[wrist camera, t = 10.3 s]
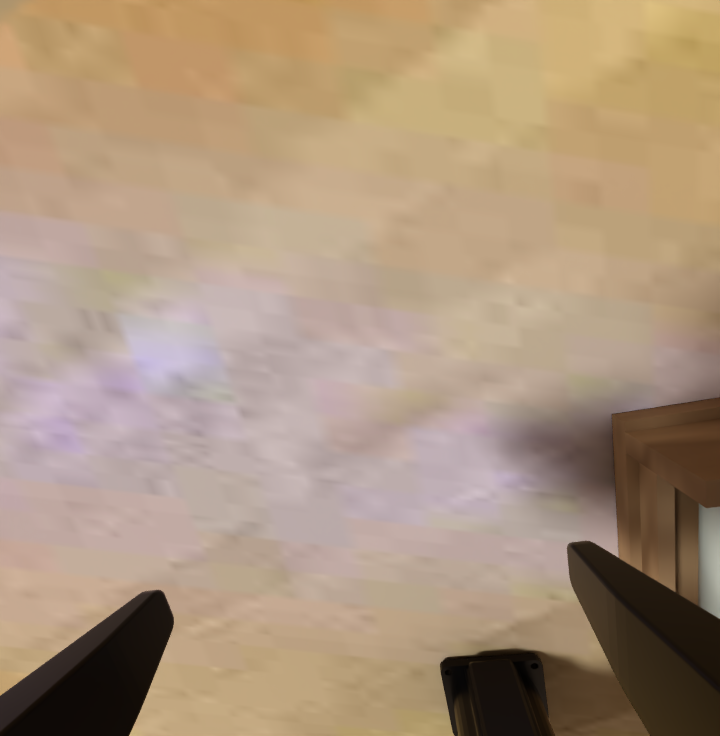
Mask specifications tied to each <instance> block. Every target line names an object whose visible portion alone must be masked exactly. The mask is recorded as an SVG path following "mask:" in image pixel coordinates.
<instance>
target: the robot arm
mask: <svg viewBox="0 0 720 736" xmlns="http://www.w3.org/2000/svg"><path fill="white" fill-rule="evenodd" d="M567 554H568V566H569V576H570V581H571V584H572V587H573V589H574V592H575V594H576V596H577V598H578V600H579V602H580V604H581V606H582V608H583V610H584V612H585V614H586V616H587V618H588V620H589V622H590V624H591V626H592V628H593V630H594V632H595V635H596V637H597V639H598V641H599V643H600V645H601V647H602V649H603V651H604V653H605V655H606V657H607V659H608V661H609V663H610V665H611V667H612V669H613V671H614V673H615V675H616V677H617V679H618V681H619V683H620V685H621V686H622V688H623V690H624V692H625V694H626V695H627V697H628V699H629V701H630V702H631V704H632V706H633V707H634V709H635V711H636V712H637V714H638V716H639V717H640V719H641V721H642V722H643V724H644V726H645V727H646V729H647V731H648V733H649V734H650V736H720V619H719V618H718V617H716V616H714V615H713V614H711V613H709V612H708V611H706V610H704V609H703V608H701V607H699V606H698V605H696V604H694V603H693V602H691V601H689V600H688V599H686V598H684V597H683V596H681V595H679V594H678V593H676V592H674V591H673V590H671V589H669V588H668V587H666V586H665V585H663V584H661V583H660V582H658V581H656V580H655V579H653V578H651V577H650V576H648V575H646V574H645V573H643V572H641V571H640V570H638V569H636V568H635V567H633V566H631V565H630V564H628V563H626V562H625V561H623V560H621V559H620V558H618V557H616V556H615V555H613V554H611V553H610V552H608V551H606V550H605V549H603V548H601V547H600V546H598V545H596V544H595V543H593V542H590V541H580V542H571V543H569V544H568V546H567ZM173 625H174V617H173V614H172V611H171V609H170V606H169V604H168V601H167V599H166V597H165V594H164V593H163V592H162V591H161V590H152V591H145V592H142V593H140V594H139V595H138V596H136V597H135V598H133V599H132V600H131V601H129V602H128V603H127V604H125V605H124V606H123V607H121V608H120V609H118V610H117V611H116V612H114V613H113V614H112V615H110V616H109V617H107V618H106V619H105V620H103V621H102V622H101V623H99V624H98V625H97V626H95V627H94V628H92V629H91V630H90V631H88V632H87V633H86V634H84V635H83V636H81V637H80V638H79V639H77V640H76V641H75V642H73V643H72V644H71V645H69V646H68V647H66V648H65V649H64V650H62V651H61V652H60V653H58V654H57V655H55V656H54V657H53V658H51V659H50V660H49V661H47V662H46V663H45V664H43V665H42V666H40V667H39V668H38V669H36V670H35V671H34V672H32V673H31V674H29V675H28V676H27V677H25V678H24V679H23V680H21V681H20V682H19V683H17V684H16V685H14V686H13V687H12V688H10V689H9V690H8V691H6V692H5V693H3V694H2V695H1V696H0V736H129V735H130V732H131V730H132V728H133V726H134V724H135V722H136V719H137V717H138V715H139V713H140V710H141V708H142V705H143V703H144V700H145V698H146V695H147V693H148V690H149V688H150V685H151V683H152V680H153V678H154V675H155V673H156V670H157V668H158V665H159V663H160V660H161V658H162V655H163V652H164V650H165V647H166V645H167V642H168V640H169V637H170V635H171V632H172V629H173ZM440 670H441V676H442V681H443V686H444V691H445V696H446V701H447V705H448V710H449V715H450V720H451V725H452V730H453V734H454V735H455V736H555V734H554V732H553V729H552V727H551V724H550V721H549V716H548V708H547V699H546V691H545V682H544V674H543V665H542V663H541V661H540V658H539V656H538V655H536V654H520V655H507V656H494V657H481V658H468V659H455V660H445V661H443V662H441V664H440Z"/></svg>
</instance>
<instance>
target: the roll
mask: <svg viewBox="0 0 720 736" xmlns="http://www.w3.org/2000/svg"><path fill="white" fill-rule="evenodd" d="M698 606H699V607H701V608H703V609H704V610H706V611H708V612H709V613H711V614H713V615H714V616H716V617H718V618H719V619H720V507H712V508H705V507H703V506H702V505H701V504H699V531H698Z"/></svg>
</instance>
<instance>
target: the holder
mask: <svg viewBox="0 0 720 736" xmlns="http://www.w3.org/2000/svg"><path fill="white" fill-rule="evenodd" d="M612 428H613V448H614V468H615V488H616V508H617V528H618V548H619V558H620V559H621V560H623V561H625V562H626V563H628V564H630V565H631V566H633V567H635V568H636V569H638V570H640V571H641V572H643V573H645V574H646V575H648V576H650V577H651V578H653V579H655V580H656V581H658V582H660V583H661V584H663V585H665V586H666V587H668V588H669V589H671V590H673V591H674V592H676V593H678V594H679V595H681V596H683V597H684V598H686V599H688V600H689V601H691V602H693V603H694V604H696V605H698V531H699V504H701V505H702V506H703V507H705V508H712V507H720V398H714V399H707V400H701V401H695V402H688V403H682V404H675V405H669V406H662V407H656V408H650V409H643V410H637V411H630V412H624V413H617V414H612Z"/></svg>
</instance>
